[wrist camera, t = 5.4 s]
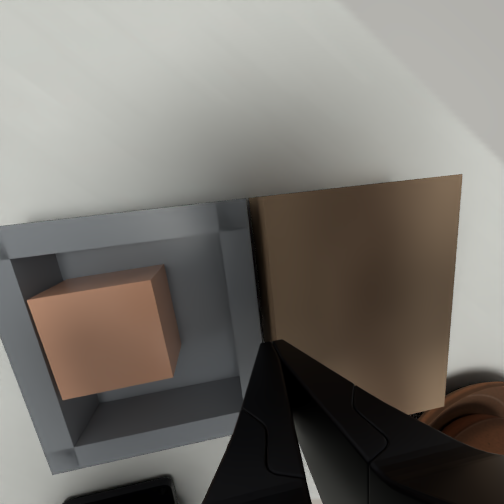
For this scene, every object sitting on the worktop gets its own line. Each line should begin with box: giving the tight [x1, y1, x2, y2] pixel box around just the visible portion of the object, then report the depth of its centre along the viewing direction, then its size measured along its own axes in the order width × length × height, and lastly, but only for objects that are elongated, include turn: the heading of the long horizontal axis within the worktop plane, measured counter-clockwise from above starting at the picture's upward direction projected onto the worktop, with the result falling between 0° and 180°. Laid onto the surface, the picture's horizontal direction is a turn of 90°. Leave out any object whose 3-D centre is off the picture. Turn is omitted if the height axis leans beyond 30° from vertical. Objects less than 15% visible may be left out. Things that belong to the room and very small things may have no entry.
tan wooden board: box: [249, 174, 462, 415], centre depth 12 cm, size 8×11×4 cm
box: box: [0, 198, 262, 475], centre depth 12 cm, size 10×11×3 cm
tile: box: [27, 264, 181, 400], centre depth 11 cm, size 4×4×2 cm
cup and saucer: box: [418, 381, 504, 455], centre depth 15 cm, size 12×12×6 cm
